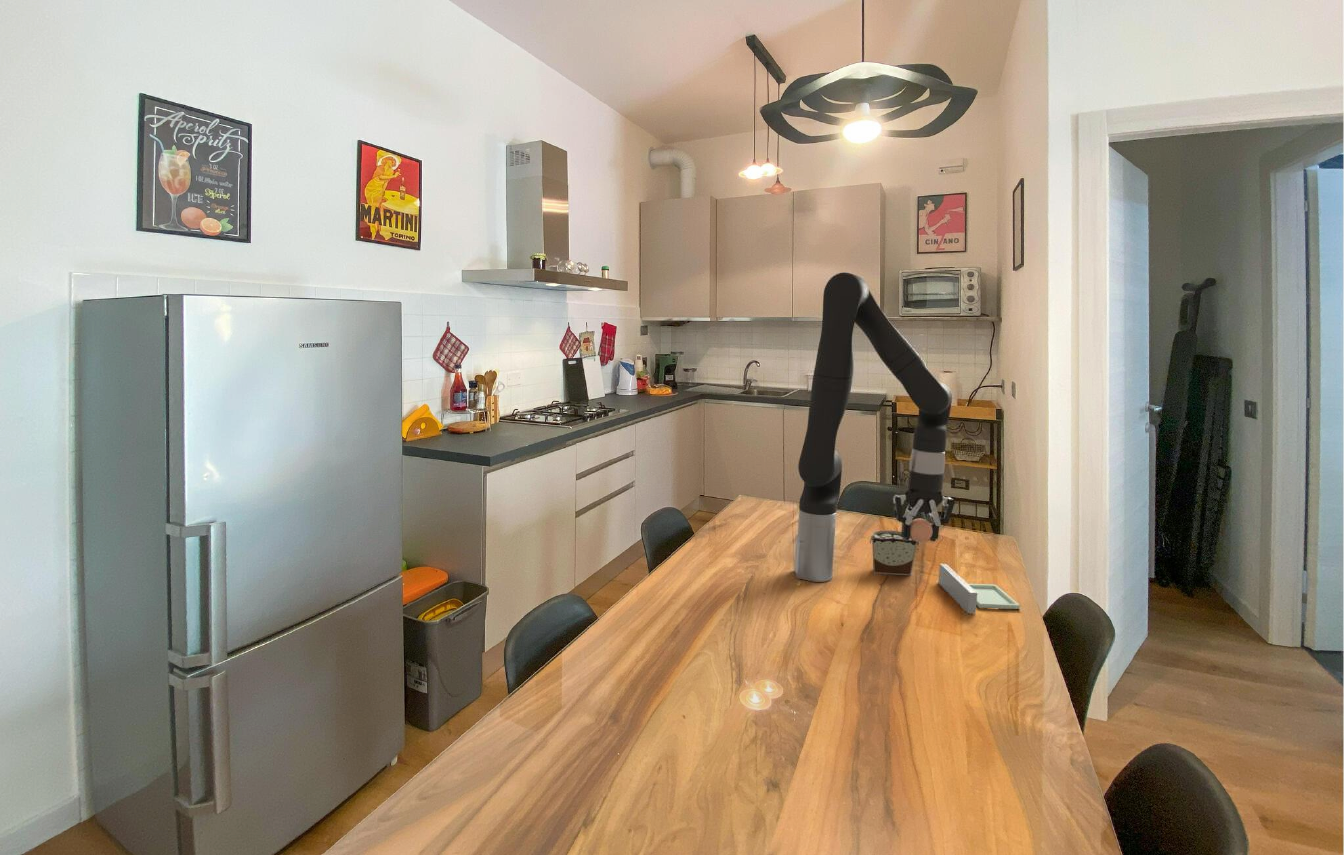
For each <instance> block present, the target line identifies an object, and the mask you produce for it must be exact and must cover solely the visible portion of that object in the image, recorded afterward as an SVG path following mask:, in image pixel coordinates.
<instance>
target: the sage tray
mask: <svg viewBox="0 0 1344 855" xmlns="http://www.w3.org/2000/svg"><path fill="white" fill-rule="evenodd" d="M967 584H968V585H969V586H971V587H972V588H973V589H974V590H975V591H976V592H977V602H976V605H977V606H978V607H979V608H998V609H997V610H999V609H1021V608H1020V606H1021V604H1019V603H1018V602H1017V601H1016V600H1014V598H1012V597H1011V596H1010V595H1008V593H1006V592H1005V591H1004V590H1002V588H1000V586H998V585H997V584H991V583H990V584H988V583H987V584H986V583H985V584H984V583H981V584H980V583H967ZM977 606H976V607H977ZM978 607H977V608H978ZM979 608H978V609H979Z"/></svg>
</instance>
